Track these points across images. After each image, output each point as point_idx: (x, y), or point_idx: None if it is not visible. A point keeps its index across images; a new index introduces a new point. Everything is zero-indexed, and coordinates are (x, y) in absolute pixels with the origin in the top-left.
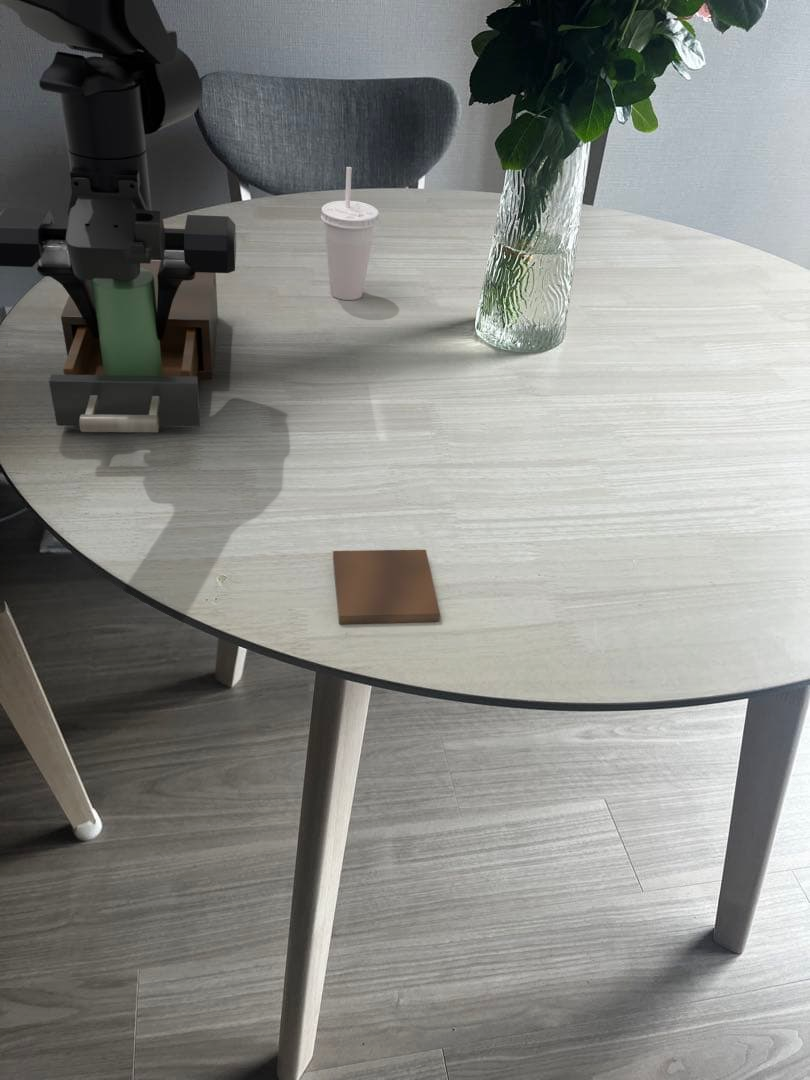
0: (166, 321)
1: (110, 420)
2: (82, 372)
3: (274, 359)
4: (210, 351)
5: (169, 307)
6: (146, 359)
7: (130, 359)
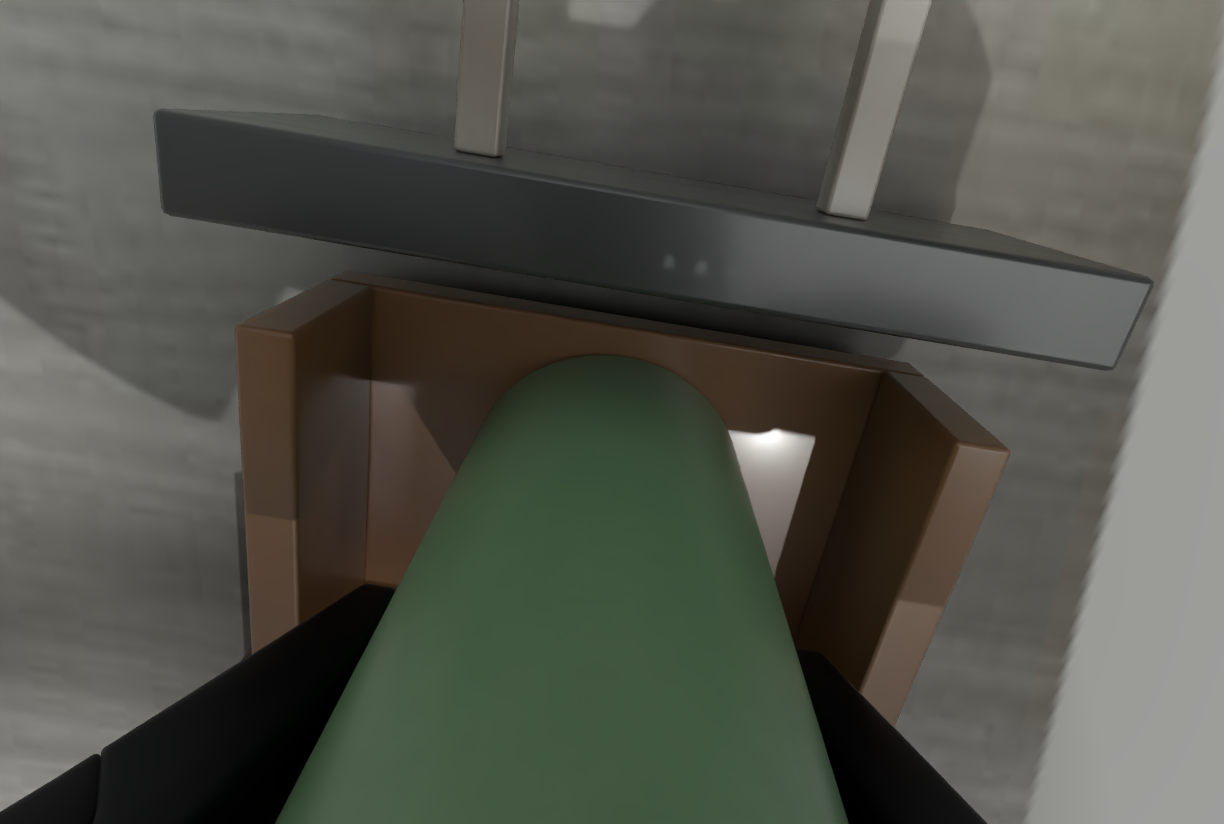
0: (240, 663)
1: None
2: (842, 554)
3: (80, 669)
4: (245, 655)
5: (90, 763)
6: (501, 452)
7: (600, 441)
